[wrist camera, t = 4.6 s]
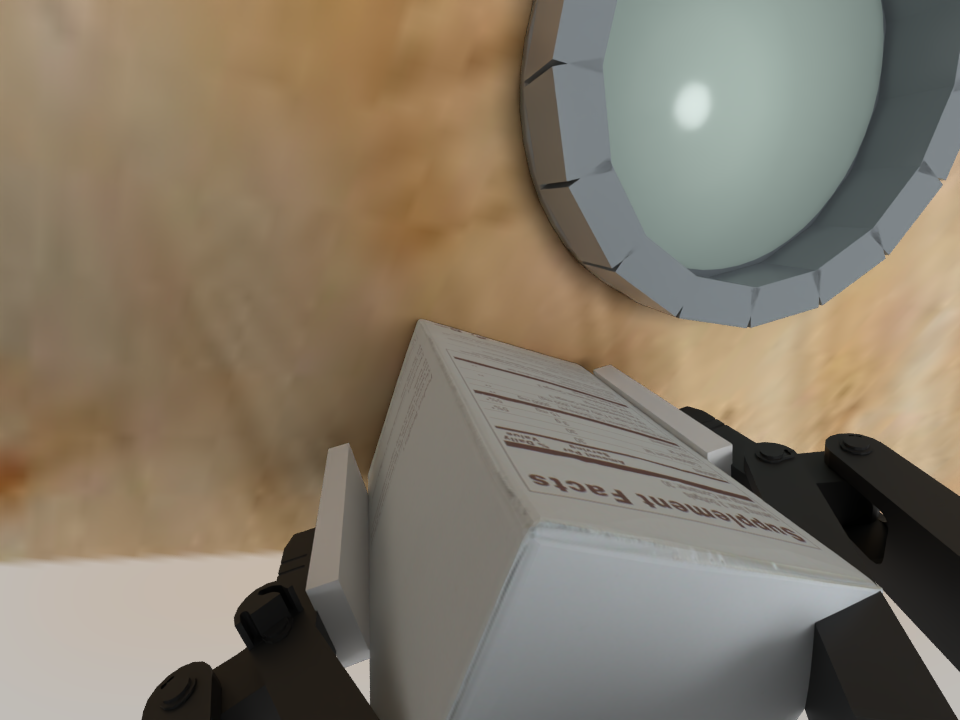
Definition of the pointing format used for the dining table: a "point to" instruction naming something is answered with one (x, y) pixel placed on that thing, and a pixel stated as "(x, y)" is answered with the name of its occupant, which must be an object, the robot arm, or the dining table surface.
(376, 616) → the supplement box
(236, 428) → the dining table surface
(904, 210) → the round tray
